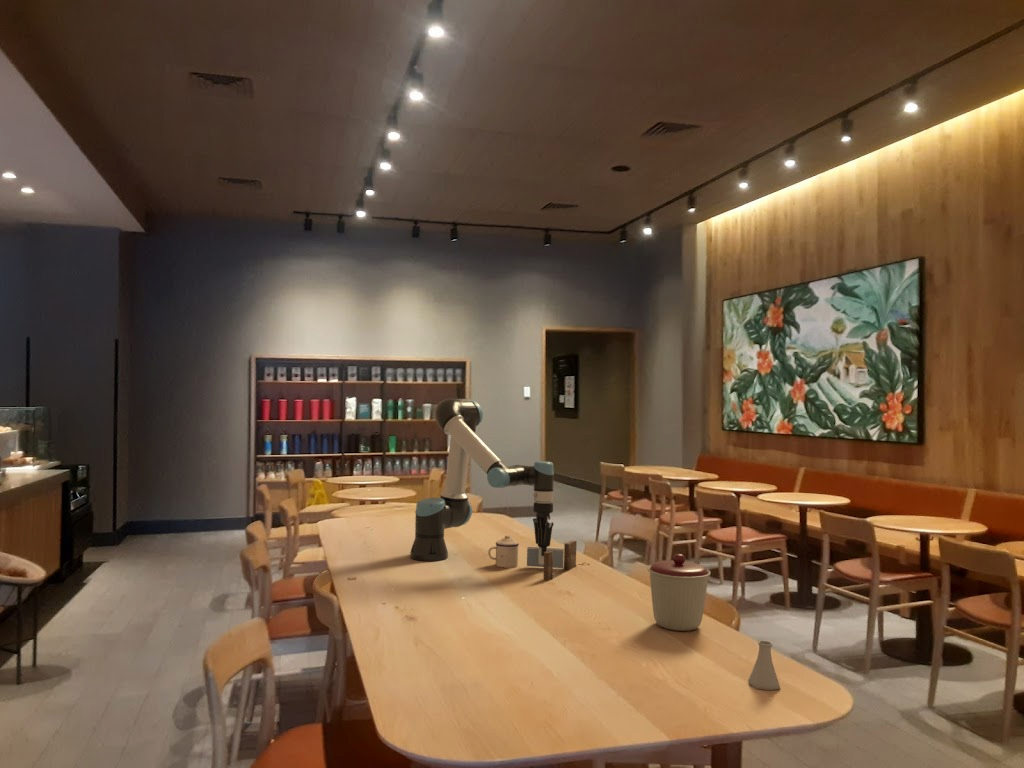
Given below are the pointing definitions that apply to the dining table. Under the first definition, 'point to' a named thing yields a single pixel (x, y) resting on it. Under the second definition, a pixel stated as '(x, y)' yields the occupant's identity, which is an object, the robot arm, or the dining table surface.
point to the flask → (764, 669)
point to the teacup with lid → (506, 552)
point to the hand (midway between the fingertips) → (542, 564)
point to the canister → (678, 593)
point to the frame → (568, 561)
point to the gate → (534, 556)
